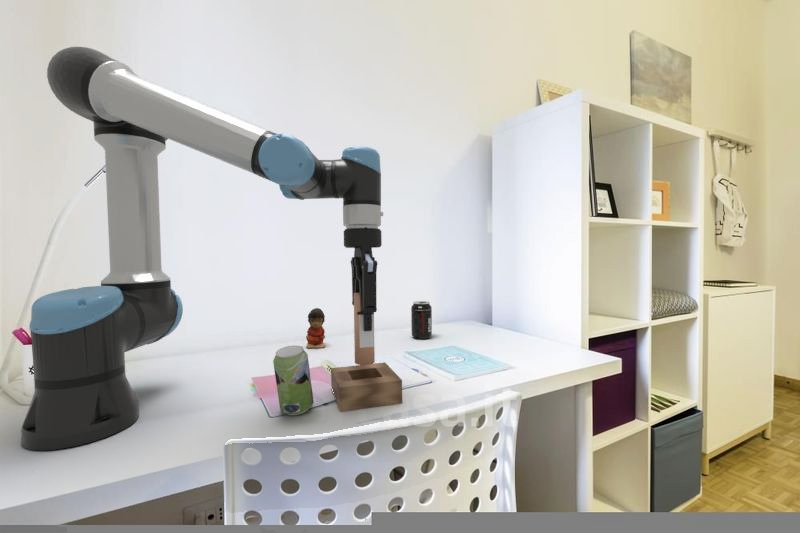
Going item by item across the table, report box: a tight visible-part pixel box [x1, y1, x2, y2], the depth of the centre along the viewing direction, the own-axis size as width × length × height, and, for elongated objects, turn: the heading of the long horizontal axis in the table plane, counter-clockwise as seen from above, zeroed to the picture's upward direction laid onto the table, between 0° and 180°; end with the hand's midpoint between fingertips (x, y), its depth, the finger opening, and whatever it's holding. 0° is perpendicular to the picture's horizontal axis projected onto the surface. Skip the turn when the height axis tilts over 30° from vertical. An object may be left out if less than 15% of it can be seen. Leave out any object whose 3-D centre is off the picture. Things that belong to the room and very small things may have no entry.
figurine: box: [305, 307, 326, 349], centre depth 115 cm, size 6×6×12 cm
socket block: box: [330, 362, 403, 412], centre depth 76 cm, size 12×12×4 cm
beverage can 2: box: [410, 300, 433, 340], centre depth 126 cm, size 7×7×12 cm
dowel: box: [353, 292, 376, 365], centre depth 76 cm, size 4×4×14 cm
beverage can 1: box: [272, 345, 314, 416], centre depth 69 cm, size 6×7×12 cm
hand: (364, 343), depth 76 cm, fingers closed on dowel, 4 cm apart
